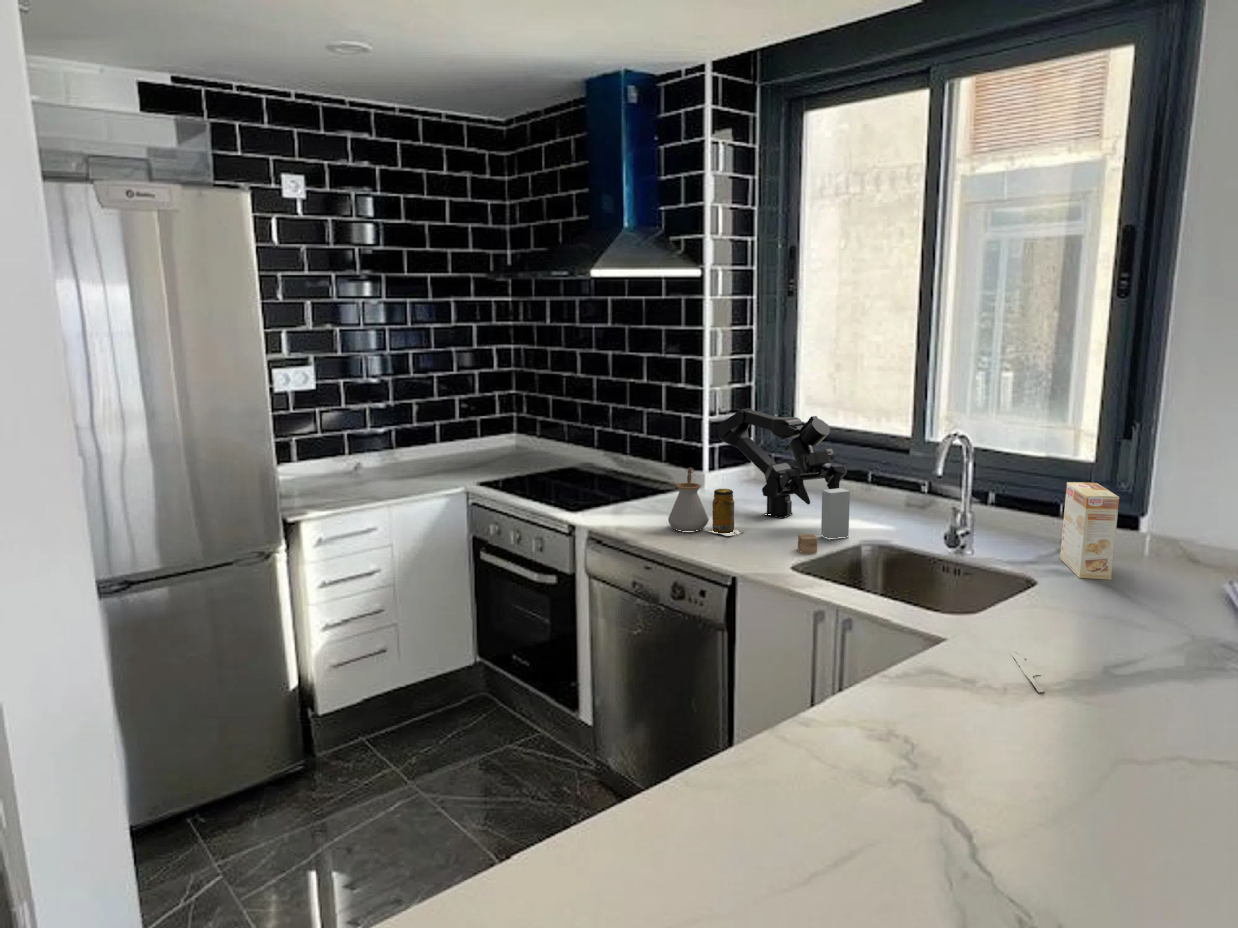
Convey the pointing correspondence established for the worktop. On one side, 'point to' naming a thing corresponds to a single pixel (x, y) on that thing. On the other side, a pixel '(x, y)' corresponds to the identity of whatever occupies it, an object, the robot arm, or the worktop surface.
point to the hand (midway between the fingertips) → (823, 502)
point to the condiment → (723, 511)
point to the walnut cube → (807, 543)
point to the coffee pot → (688, 508)
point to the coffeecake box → (1089, 530)
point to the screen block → (835, 513)
